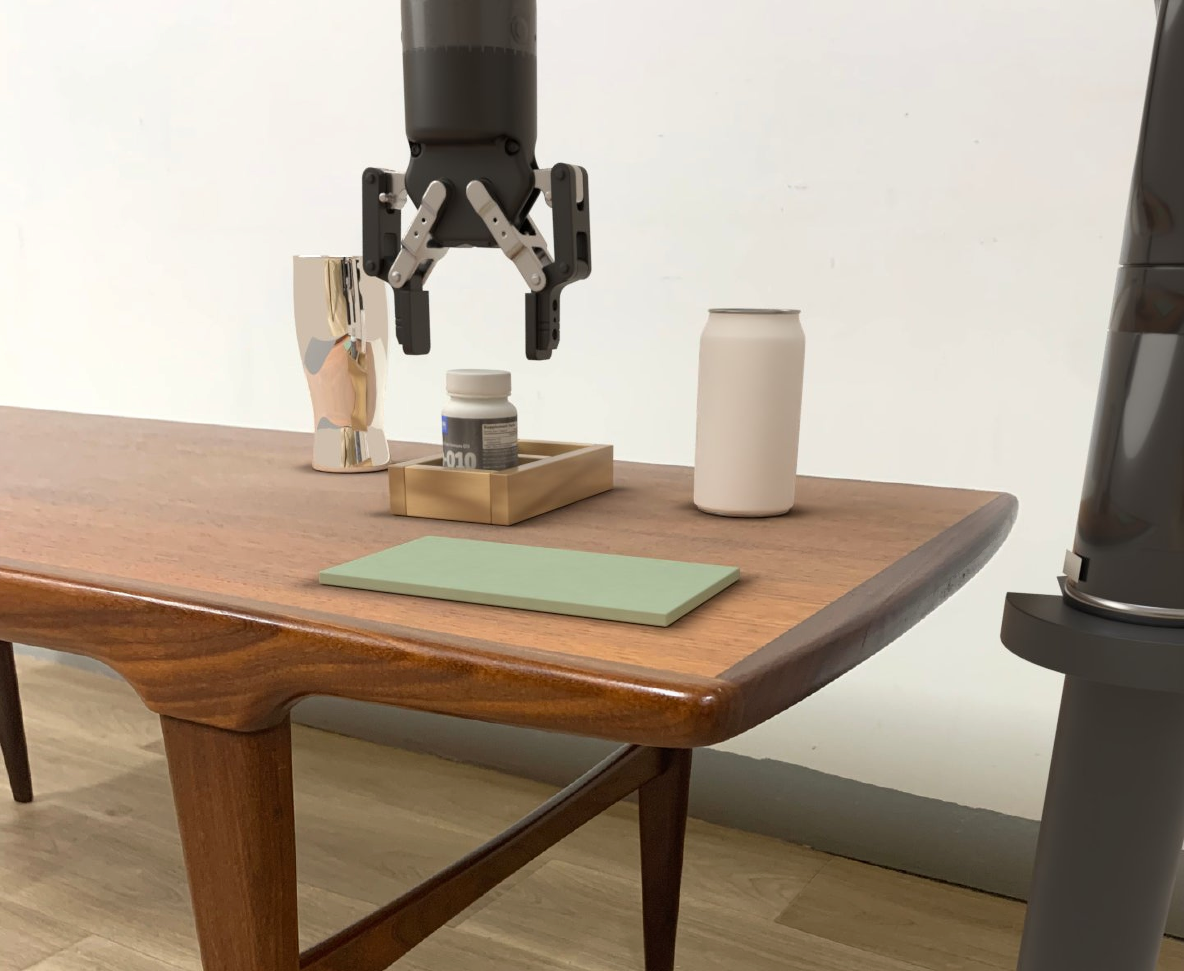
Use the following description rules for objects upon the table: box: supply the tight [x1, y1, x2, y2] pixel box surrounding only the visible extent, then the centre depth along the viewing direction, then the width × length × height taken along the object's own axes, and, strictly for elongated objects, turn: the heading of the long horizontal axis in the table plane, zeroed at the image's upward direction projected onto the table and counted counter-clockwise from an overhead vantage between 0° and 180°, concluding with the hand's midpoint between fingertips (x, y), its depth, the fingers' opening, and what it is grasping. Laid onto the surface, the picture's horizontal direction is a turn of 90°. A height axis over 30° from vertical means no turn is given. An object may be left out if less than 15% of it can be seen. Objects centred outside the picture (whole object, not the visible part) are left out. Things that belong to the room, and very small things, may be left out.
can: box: [693, 307, 806, 518], centre depth 76 cm, size 6×6×12 cm
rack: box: [387, 438, 614, 527], centre depth 80 cm, size 8×16×3 cm, turn 156°
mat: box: [318, 535, 741, 628], centre depth 59 cm, size 18×10×1 cm, turn 65°
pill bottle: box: [441, 368, 519, 471], centre depth 76 cm, size 5×5×8 cm
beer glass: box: [291, 254, 393, 474], centre depth 92 cm, size 7×7×15 cm
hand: (476, 357), depth 74 cm, fingers open, 8 cm apart
